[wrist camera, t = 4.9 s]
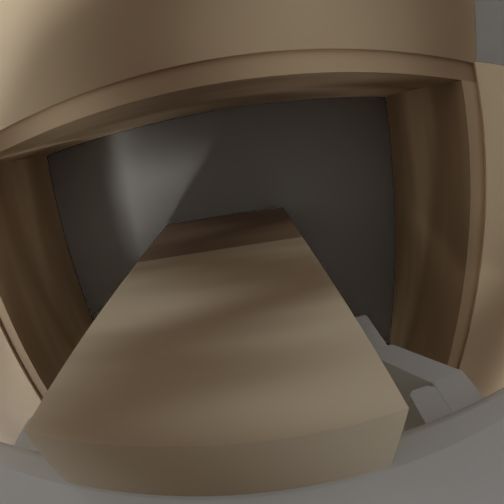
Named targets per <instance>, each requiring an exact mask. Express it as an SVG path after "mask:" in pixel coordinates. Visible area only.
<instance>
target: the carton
mask: <svg viewBox="0 0 504 504" xmlns="http://www.w3.org/2000/svg"><path fill="white" fill-rule="evenodd" d="M337 97H385V100H386V107H387V115H388V123H389V132H390V141H391V152H392V164H393V179H394V199H395V276H394V296H393V311H392V323H391V334H390V344H389V345H391V344H393V345H396V346H398V347H401V348H403V349H406V350H408V351H411V352H414V353H416V354H419V355H421V356H424V357H427V358H429V359H432V360H435V361H437V362H440V363H443V364H445V365H448V366H451V367H453V368H456V369H459V370H461V371H463V372H464V373H465V374H466V376H467V377H468V378H469V379H470V381H471V382H472V383H473V384H474V386H475V387H476V388H477V389H478V391H479V392H480V393H481V394H482V396H483V397H484V398H485V397H487V396H489V395H491V394H493V393H495V392H496V391H498V390H500V389H502V388H504V66H503V65H497V64H490V63H483V62H476V18H475V2H474V0H0V442H3V443H7V444H10V445H14V444H15V442H16V440H17V438H18V437H19V435H20V433H21V431H22V430H23V428H24V426H25V424H26V423H27V421H28V419H29V418H31V417H32V416H33V414H34V413H35V411H36V409H37V408H38V406H39V404H40V403H41V401H42V399H43V398H44V396H45V394H46V393H47V391H48V389H49V388H50V386H51V385H52V383H53V381H54V380H55V378H56V377H57V375H58V373H59V372H60V370H61V369H62V367H63V366H64V364H65V363H66V361H67V360H68V358H69V356H70V355H71V353H72V352H73V350H74V349H75V347H76V346H77V344H78V343H79V342H80V340H81V339H82V337H83V336H84V334H85V333H86V331H87V330H88V328H89V327H90V326H91V324H92V323H93V319H92V317H91V314H90V312H89V309H88V306H87V304H86V301H85V298H84V296H83V293H82V290H81V287H80V284H79V281H78V278H77V275H76V272H75V269H74V266H73V263H72V260H71V256H70V253H69V250H68V246H67V243H66V239H65V236H64V232H63V228H62V224H61V220H60V216H59V212H58V208H57V204H56V200H55V195H54V190H53V186H52V181H51V176H50V170H49V165H48V159H47V155H50V154H52V153H55V152H58V151H61V150H63V149H66V148H69V147H72V146H75V145H78V144H81V143H84V142H87V141H90V140H94V139H97V138H100V137H103V136H107V135H110V134H114V133H117V132H121V131H124V130H128V129H132V128H136V127H140V126H144V125H148V124H152V123H156V122H160V121H164V120H169V119H174V118H178V117H183V116H188V115H193V114H198V113H204V112H209V111H215V110H221V109H227V108H233V107H240V106H247V105H255V104H263V103H272V102H281V101H291V100H303V99H318V98H337Z"/></svg>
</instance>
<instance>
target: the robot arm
mask: <svg viewBox="0 0 504 504" xmlns="http://www.w3.org/2000/svg"><path fill="white" fill-rule="evenodd" d="M355 318H356V320H357V321H358V323H359V325H360V326H361V328H362V329H363V331H364V333H365V334H366V336H367V338H368V339H369V341H370V342H371V344H372V346H373V347H374V349H375V351H376V352H377V354H378V356H379V357H380V359H381V361H382V362H383V364H384V366H385V367H386V369H387V371H388V373H389V374H390V376H391V378H392V379H393V381H394V383H395V385H396V386H397V388H398V390H399V391H400V393H401V395H402V397H403V398H404V400H405V402H406V404H407V405H408V407H409V410H408V414H407V418H406V421H405V425H404V428H403V431H402V435H401V438H400V441H399V444H398V447H397V450H396V453H395V456H394V459H393V462H392V464H391V465H390V466H387V467H384V468H381V469H378V470H374V471H371V472H367V473H364V474H360V475H356V476H353V477H349V478H345V479H341V480H336V481H332V482H327V483H322V484H318V485H312V486H307V487H301V488H295V489H289V490H282V491H274V492H266V493H256V494H245V495H230V496H163V495H148V494H137V493H127V492H119V491H112V490H105V489H99V488H93V487H87V486H82V485H77V484H72V483H68V482H67V481H66V480H65V479H64V478H63V477H62V476H61V475H60V474H59V473H58V472H57V471H56V470H55V469H54V467H53V466H52V465H51V464H50V463H49V462H48V461H47V460H46V459H45V458H44V456H43V455H42V454H41V453H40V452H39V451H38V449H37V448H36V447H35V446H34V445H33V443H32V442H31V441H30V440H29V439H28V437H27V436H26V435H25V433H24V430H25V428H26V427H27V425H28V423H29V421H30V420H31V418H32V417H31V418H29V419H28V421H27V423H26V424H25V426H24V428H23V430H22V431H21V433H20V435H19V437H18V438H17V440H16V442H15V444H14V445H10V444H7V443H3V442H0V504H504V388H502V389H500V390H498V391H496V392H495V393H493V394H491V395H489V396H487V397H485V398H484V397H483V396H482V394H481V393H480V392H479V391H478V389H477V388H476V387H475V386H474V384H473V383H472V382H471V381H470V379H469V378H468V377H467V376H466V374H465V373H464V372H463V371H461V370H459V369H456V368H453V367H451V366H448V365H445V364H443V363H440V362H437V361H435V360H432V359H429V358H427V357H424V356H421V355H419V354H416V353H414V352H411V351H408V350H406V349H403V348H401V347H398V346H396V345H393V344H391V345H387V344H386V342H385V341H384V339H383V338H382V337H381V335H380V334H379V332H378V331H377V329H376V328H375V326H374V325H373V324H372V322H371V321H370V319H369V318H368V317H367V316H366V315H361V316H357V317H355Z"/></svg>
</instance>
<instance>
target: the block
mask: <svg viewBox="0 0 504 504" xmlns="http://www.w3.org/2000/svg"><path fill="white" fill-rule="evenodd" d="M408 410H409V407H408V405H407V404H406V402H405V400H404V398H403V397H402V395H401V393H400V391H399V390H398V388H397V386H396V385H395V383H394V381H393V379H392V378H391V376H390V374H389V373H388V371H387V369H386V367H385V366H384V364H383V362H382V361H381V359H380V357H379V356H378V354H377V352H376V351H375V349H374V347H373V346H372V344H371V342H370V341H369V339H368V338H367V336H366V334H365V333H364V331H363V329H362V328H361V326H360V325H359V323H358V321H357V320H356V318H355V317H354V315H353V313H352V312H351V310H350V309H349V307H348V305H347V304H346V302H345V301H344V299H343V298H342V296H341V294H340V293H339V291H338V290H337V288H336V287H335V285H334V284H333V282H332V281H331V279H330V277H329V276H328V274H327V273H326V271H325V270H324V268H323V267H322V265H321V264H320V262H319V261H318V259H317V258H316V256H315V255H314V253H313V252H312V250H311V249H310V247H309V246H308V244H307V243H306V241H305V240H304V238H303V237H302V235H301V234H300V232H299V231H298V229H297V228H296V226H295V225H294V224H293V222H292V221H291V219H290V218H289V216H288V215H287V213H286V212H285V211H284V209H283V208H282V207H278V208H272V209H265V210H258V211H251V212H245V213H238V214H232V215H226V216H219V217H213V218H207V219H201V220H195V221H189V222H183V223H178V224H172V225H167V226H166V227H165V228H164V229H163V231H162V232H161V233H160V234H159V236H158V237H157V238H156V239H155V240H154V242H153V243H152V244H151V245H150V247H149V248H148V249H147V251H146V252H145V253H144V254H143V256H142V257H141V258H140V259H139V261H138V262H137V263H136V265H135V266H134V267H133V268H132V270H131V271H130V272H129V274H128V275H127V276H126V278H125V279H124V280H123V282H122V283H121V284H120V286H119V287H118V288H117V290H116V291H115V292H114V294H113V295H112V296H111V298H110V299H109V300H108V302H107V303H106V305H105V306H104V307H103V309H102V310H101V311H100V313H99V314H98V316H97V317H96V318H95V320H94V321H93V323H92V324H91V326H90V327H89V328H88V330H87V331H86V333H85V334H84V336H83V337H82V339H81V340H80V342H79V343H78V344H77V346H76V347H75V349H74V350H73V352H72V353H71V355H70V356H69V358H68V360H67V361H66V363H65V364H64V366H63V367H62V369H61V370H60V372H59V373H58V375H57V377H56V378H55V380H54V381H53V383H52V385H51V386H50V388H49V389H48V391H47V393H46V394H45V396H44V398H43V399H42V401H41V403H40V404H39V406H38V408H37V409H36V411H35V413H34V414H33V416H32V418H31V420H30V421H29V423H28V425H27V427H26V428H25V430H24V433H25V435H26V436H27V437H28V439H29V440H30V441H31V442H32V443H33V445H34V446H35V447H36V448H37V449H38V451H39V452H40V453H41V454H42V455H43V456H44V458H45V459H46V460H47V461H48V462H49V463H50V464H51V465H52V466H53V467H54V469H55V470H56V471H57V472H58V473H59V474H60V475H61V476H62V477H63V478H64V479H65V480H66V481H67V482H68V483H72V484H77V485H82V486H87V487H93V488H99V489H105V490H112V491H119V492H127V493H137V494H148V495H163V496H230V495H245V494H256V493H266V492H274V491H282V490H289V489H295V488H301V487H307V486H312V485H318V484H322V483H327V482H332V481H336V480H341V479H345V478H349V477H353V476H356V475H360V474H364V473H367V472H371V471H374V470H378V469H381V468H384V467H387V466H390V465H391V464H392V462H393V459H394V456H395V453H396V450H397V447H398V444H399V441H400V438H401V435H402V431H403V428H404V425H405V421H406V418H407V414H408Z"/></svg>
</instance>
